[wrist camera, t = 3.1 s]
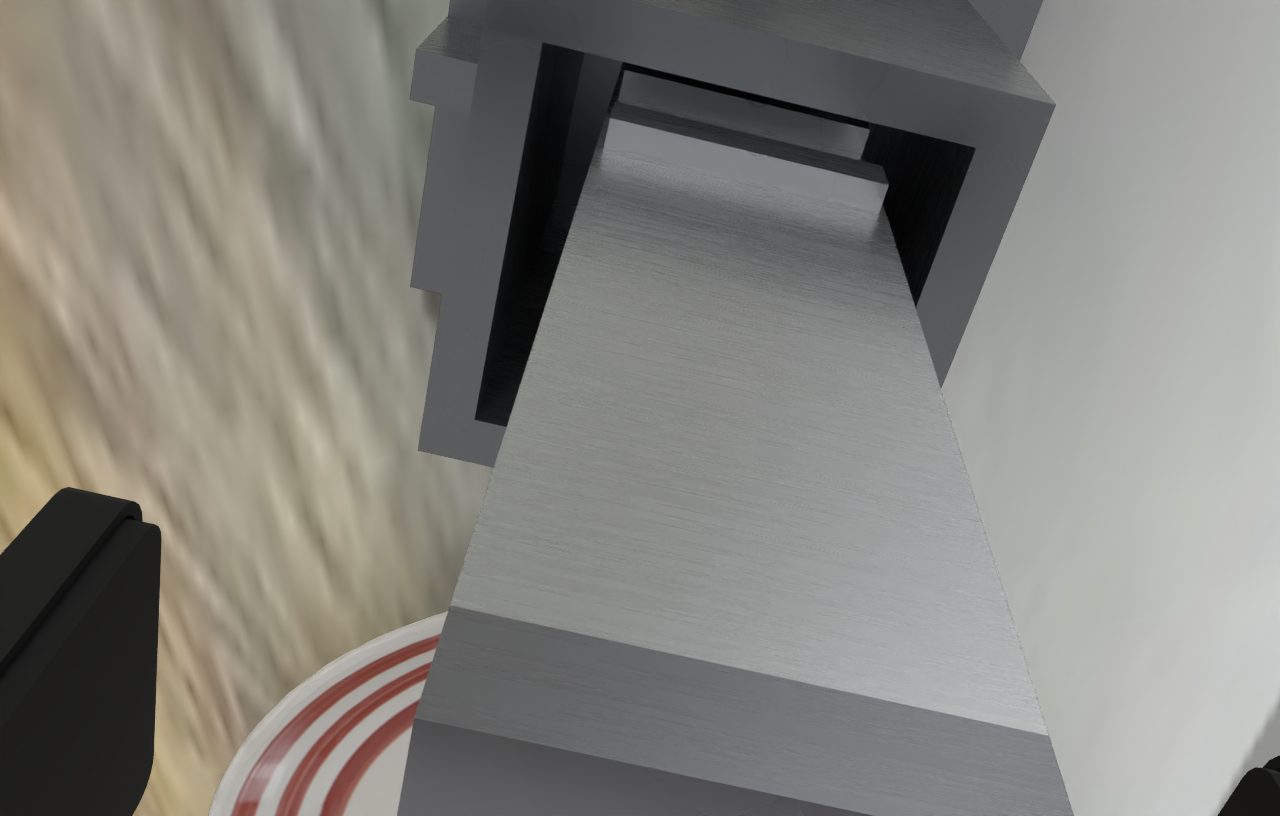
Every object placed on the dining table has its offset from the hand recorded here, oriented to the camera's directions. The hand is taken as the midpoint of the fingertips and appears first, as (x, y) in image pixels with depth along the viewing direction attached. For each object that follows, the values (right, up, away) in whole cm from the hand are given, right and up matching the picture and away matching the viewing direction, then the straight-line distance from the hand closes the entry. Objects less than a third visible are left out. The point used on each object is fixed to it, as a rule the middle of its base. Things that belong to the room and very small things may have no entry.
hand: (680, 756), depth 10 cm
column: (+1, +9, +16) cm, 19 cm away
